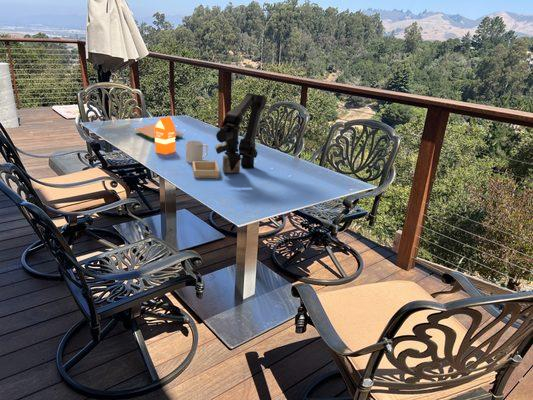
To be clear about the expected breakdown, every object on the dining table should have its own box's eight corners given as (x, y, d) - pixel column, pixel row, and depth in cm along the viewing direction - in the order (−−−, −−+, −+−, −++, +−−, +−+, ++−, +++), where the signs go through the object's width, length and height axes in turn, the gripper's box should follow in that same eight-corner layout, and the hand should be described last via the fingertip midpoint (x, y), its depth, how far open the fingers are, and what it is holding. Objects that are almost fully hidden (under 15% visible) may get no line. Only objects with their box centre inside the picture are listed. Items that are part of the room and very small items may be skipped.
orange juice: (155, 151, 224) (154, 117, 217) (165, 148, 232) (164, 115, 224) (165, 154, 221) (164, 119, 214) (175, 151, 229) (175, 117, 221)
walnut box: (237, 169, 201) (238, 155, 198) (239, 172, 197) (240, 158, 194) (222, 169, 199) (223, 155, 197) (223, 172, 195) (224, 158, 192)
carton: (215, 168, 206) (216, 160, 204) (219, 181, 189) (220, 172, 187) (192, 168, 203) (192, 160, 201) (194, 181, 186) (194, 172, 184)
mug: (189, 165, 206) (190, 145, 202) (183, 161, 213) (183, 141, 209) (210, 163, 213) (210, 143, 208) (203, 159, 219) (204, 139, 215)
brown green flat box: (154, 144, 241) (153, 131, 238) (131, 132, 263) (130, 120, 260) (186, 140, 256) (186, 127, 253) (161, 129, 277) (161, 117, 274)
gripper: (214, 133, 198) (213, 162, 204) (218, 143, 181) (217, 174, 187) (235, 134, 201) (234, 162, 207) (241, 143, 184) (240, 174, 190)
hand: (231, 168), depth 198 cm, fingers closed on walnut box, 5 cm apart
